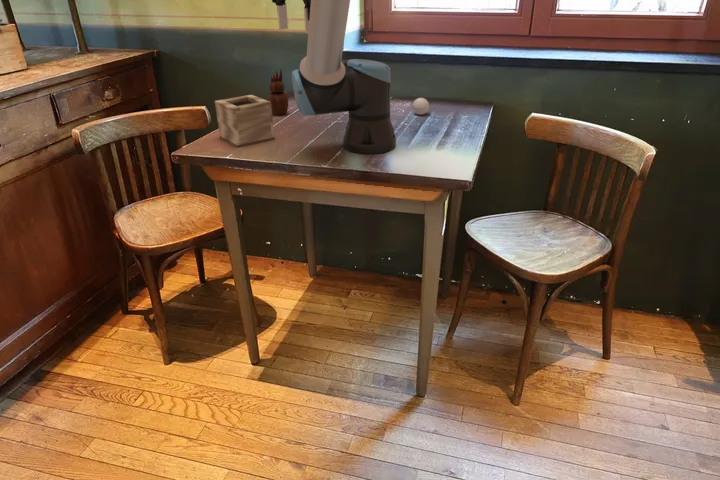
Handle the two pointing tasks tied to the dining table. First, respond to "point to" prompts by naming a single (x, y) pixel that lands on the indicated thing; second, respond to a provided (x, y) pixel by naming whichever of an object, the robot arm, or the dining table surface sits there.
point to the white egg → (420, 106)
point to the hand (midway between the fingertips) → (296, 31)
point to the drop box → (245, 120)
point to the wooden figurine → (278, 95)
